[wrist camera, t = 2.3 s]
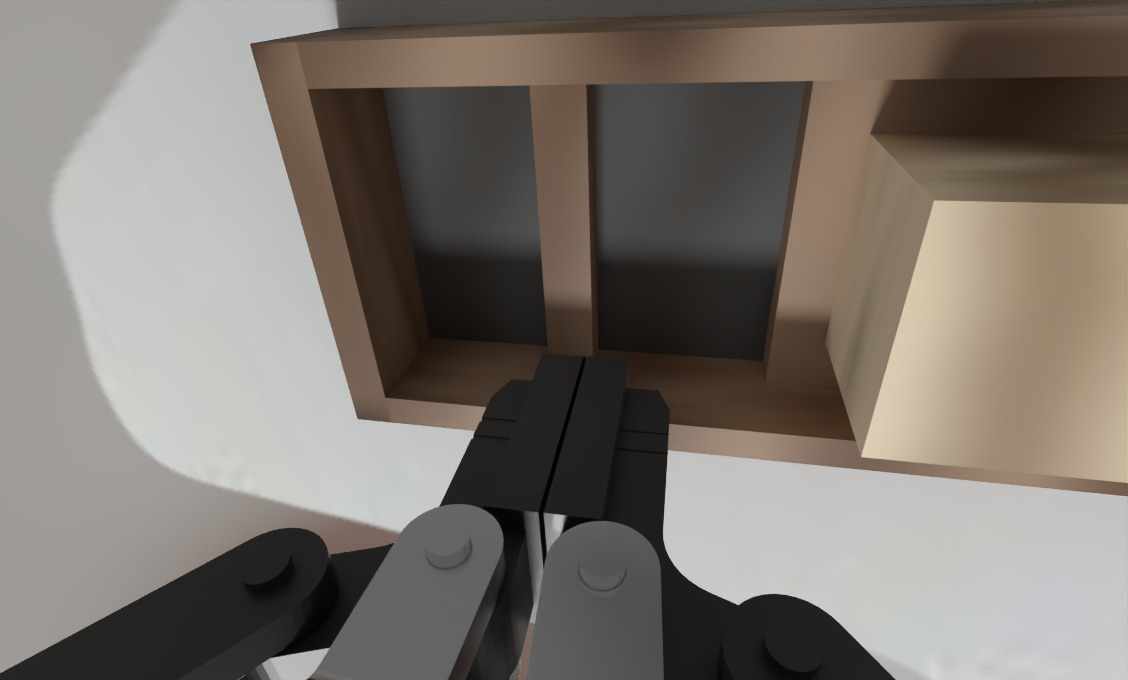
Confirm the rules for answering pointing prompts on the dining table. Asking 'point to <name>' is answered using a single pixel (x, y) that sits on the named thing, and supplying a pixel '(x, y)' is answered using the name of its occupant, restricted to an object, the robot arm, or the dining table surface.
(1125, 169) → the oak block
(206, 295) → the dining table surface
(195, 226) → the dining table surface
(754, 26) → the track
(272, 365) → the dining table surface
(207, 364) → the dining table surface
